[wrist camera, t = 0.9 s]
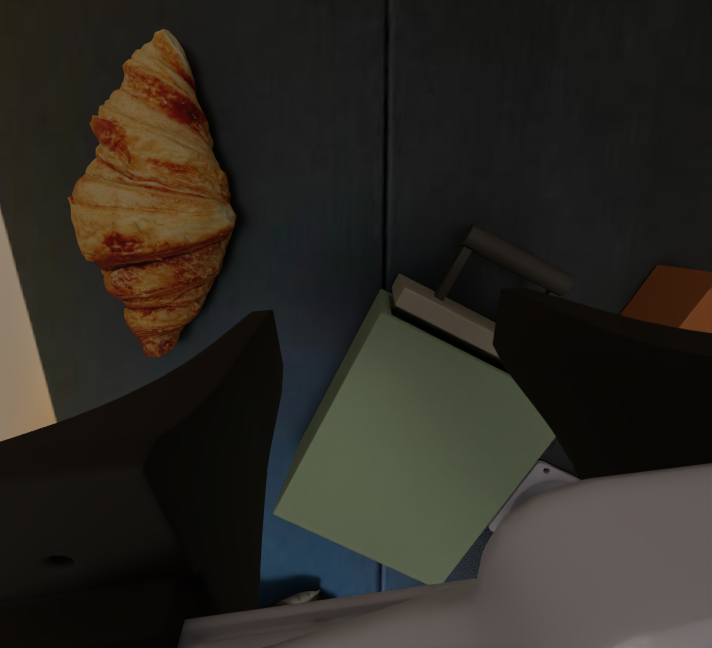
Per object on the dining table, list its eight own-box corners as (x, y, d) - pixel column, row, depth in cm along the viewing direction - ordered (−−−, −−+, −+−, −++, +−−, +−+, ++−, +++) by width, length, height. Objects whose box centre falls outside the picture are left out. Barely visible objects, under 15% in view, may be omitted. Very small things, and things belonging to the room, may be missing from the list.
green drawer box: (380, 288, 27) (380, 312, 19) (522, 360, 27) (576, 410, 20) (299, 443, 31) (272, 514, 23) (424, 502, 32) (438, 590, 24)
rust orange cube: (706, 291, 25) (783, 306, 20) (666, 340, 26) (730, 366, 22) (656, 264, 25) (723, 273, 20) (618, 315, 26) (672, 335, 21)
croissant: (168, 65, 27) (31, -3, 20) (263, 48, 22) (126, -48, 15) (166, 331, 32) (58, 349, 25) (243, 365, 27) (134, 398, 20)
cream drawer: (433, 209, 24) (450, 203, 18) (572, 283, 25) (633, 300, 19) (316, 427, 29) (299, 478, 23) (434, 484, 30) (448, 548, 24)
